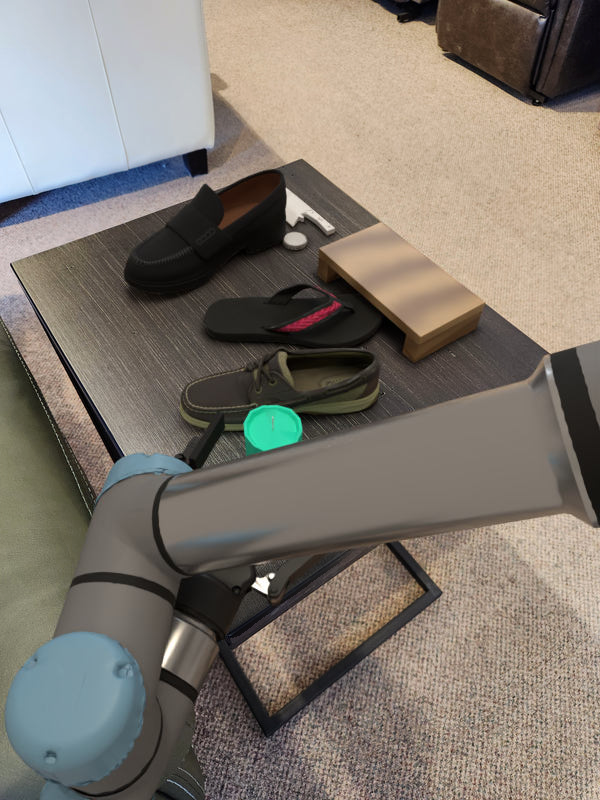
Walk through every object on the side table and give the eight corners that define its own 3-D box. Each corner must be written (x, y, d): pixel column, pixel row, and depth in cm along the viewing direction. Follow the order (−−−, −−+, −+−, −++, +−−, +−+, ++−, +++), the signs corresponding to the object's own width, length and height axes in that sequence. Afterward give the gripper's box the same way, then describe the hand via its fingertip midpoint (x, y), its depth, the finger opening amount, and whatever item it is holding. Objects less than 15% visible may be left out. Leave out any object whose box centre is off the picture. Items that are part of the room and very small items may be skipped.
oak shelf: (476, 328, 85) (485, 302, 81) (413, 363, 80) (420, 337, 76) (377, 248, 95) (381, 221, 92) (317, 275, 91) (318, 248, 87)
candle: (236, 484, 67) (229, 421, 58) (269, 450, 70) (268, 384, 61) (277, 513, 65) (277, 453, 56) (310, 476, 68) (315, 413, 59)
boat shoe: (177, 388, 76) (168, 344, 70) (363, 359, 80) (371, 314, 74) (185, 446, 70) (176, 404, 64) (385, 411, 75) (395, 368, 68)
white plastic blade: (310, 242, 96) (310, 237, 95) (260, 198, 103) (260, 192, 102) (335, 232, 98) (335, 226, 97) (284, 189, 105) (284, 183, 104)
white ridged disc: (277, 239, 96) (277, 236, 96) (299, 232, 97) (299, 228, 97) (290, 252, 94) (290, 249, 93) (311, 245, 95) (312, 241, 95)
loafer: (113, 275, 89) (94, 203, 80) (267, 218, 101) (266, 148, 91) (142, 311, 84) (126, 238, 75) (301, 247, 96) (304, 176, 86)
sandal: (388, 349, 81) (394, 319, 77) (203, 352, 80) (199, 322, 76) (379, 303, 87) (384, 272, 83) (207, 305, 86) (203, 274, 82)
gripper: (72, 588, 57) (179, 424, 69) (316, 694, 52) (384, 495, 64) (48, 555, 51) (170, 382, 63) (321, 670, 46) (395, 457, 58)
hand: (278, 438), depth 64 cm, fingers open, 13 cm apart
